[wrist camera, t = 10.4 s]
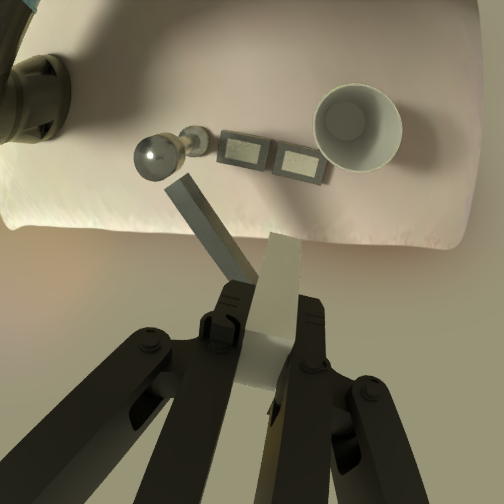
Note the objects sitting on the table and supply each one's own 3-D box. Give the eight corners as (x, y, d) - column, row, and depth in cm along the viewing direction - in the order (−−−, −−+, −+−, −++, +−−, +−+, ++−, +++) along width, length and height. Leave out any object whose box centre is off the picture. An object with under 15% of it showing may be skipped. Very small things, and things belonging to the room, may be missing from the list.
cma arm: (139, 148, 29) (126, 154, 27) (170, 124, 28) (157, 127, 25) (243, 296, 36) (238, 311, 34) (276, 283, 34) (273, 297, 32)
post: (178, 153, 38) (148, 168, 31) (182, 123, 36) (151, 132, 29) (207, 158, 38) (182, 174, 30) (211, 128, 36) (187, 136, 28)
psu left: (218, 160, 37) (216, 162, 37) (223, 129, 35) (220, 130, 35) (265, 169, 37) (263, 172, 36) (271, 139, 35) (270, 140, 34)
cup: (311, 151, 35) (312, 170, 26) (310, 85, 31) (311, 80, 23) (376, 156, 34) (398, 176, 25) (379, 90, 30) (403, 89, 21)
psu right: (273, 171, 37) (272, 173, 36) (279, 140, 35) (278, 142, 34) (320, 183, 37) (320, 185, 36) (328, 152, 35) (328, 154, 34)
